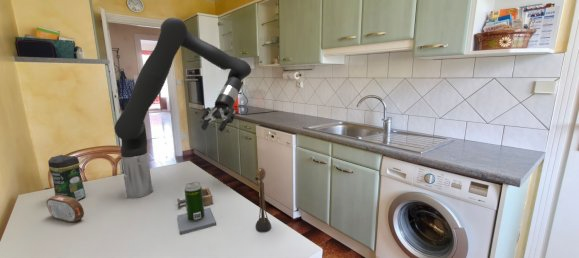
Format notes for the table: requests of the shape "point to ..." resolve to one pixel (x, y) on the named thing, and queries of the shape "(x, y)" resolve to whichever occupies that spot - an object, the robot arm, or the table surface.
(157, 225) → the table surface
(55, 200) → the tin
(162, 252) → the table surface
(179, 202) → the light wood square frame
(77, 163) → the coffee jar
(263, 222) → the wooden tabletop sculpture
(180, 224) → the slate mat
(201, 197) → the beer can
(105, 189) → the table surface
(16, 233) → the table surface
